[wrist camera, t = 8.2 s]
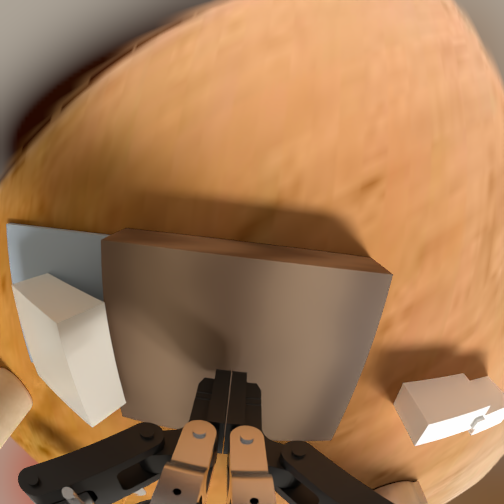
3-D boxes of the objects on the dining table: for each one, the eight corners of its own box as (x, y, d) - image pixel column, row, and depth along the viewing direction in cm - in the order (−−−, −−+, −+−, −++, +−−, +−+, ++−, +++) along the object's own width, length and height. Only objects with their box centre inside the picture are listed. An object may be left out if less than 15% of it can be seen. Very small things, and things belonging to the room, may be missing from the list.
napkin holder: (356, 402, 19) (377, 456, 14) (464, 300, 17) (510, 334, 11) (424, 447, 22) (442, 482, 16) (501, 377, 19) (528, 406, 14)
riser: (370, 257, 16) (392, 274, 13) (323, 411, 19) (331, 440, 16) (125, 228, 15) (100, 239, 12) (136, 389, 18) (122, 416, 15)
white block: (104, 302, 13) (56, 323, 10) (126, 402, 15) (92, 427, 12) (47, 272, 16) (11, 284, 13) (67, 359, 17) (38, 374, 15)
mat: (121, 236, 15) (118, 237, 15) (133, 393, 18) (131, 396, 18) (9, 222, 15) (6, 223, 15) (33, 359, 18) (31, 361, 18)
